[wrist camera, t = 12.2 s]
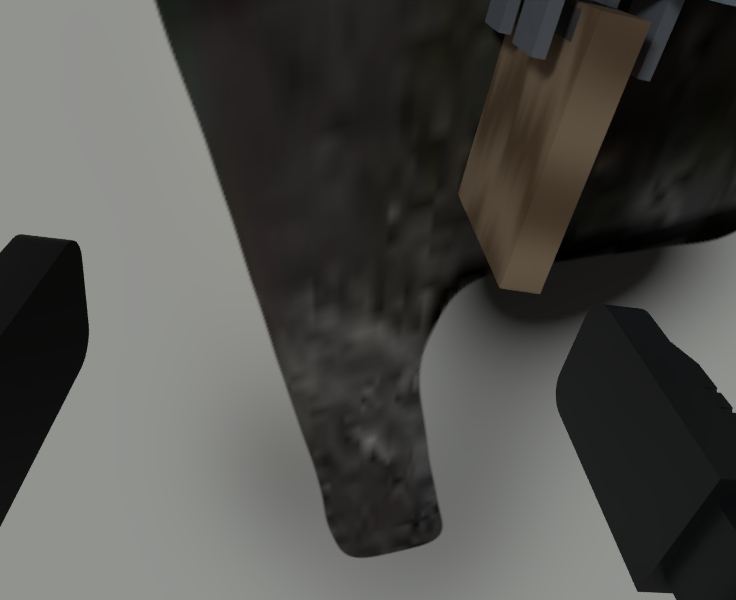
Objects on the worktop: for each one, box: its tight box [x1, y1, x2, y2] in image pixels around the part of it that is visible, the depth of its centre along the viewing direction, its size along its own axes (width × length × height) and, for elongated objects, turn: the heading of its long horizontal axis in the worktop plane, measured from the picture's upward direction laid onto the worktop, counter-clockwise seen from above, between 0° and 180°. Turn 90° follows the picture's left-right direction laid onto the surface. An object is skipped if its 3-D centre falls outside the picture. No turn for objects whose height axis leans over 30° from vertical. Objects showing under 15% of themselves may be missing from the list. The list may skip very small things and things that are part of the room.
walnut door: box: [458, 0, 652, 294], centre depth 30 cm, size 12×3×11 cm, turn 169°
